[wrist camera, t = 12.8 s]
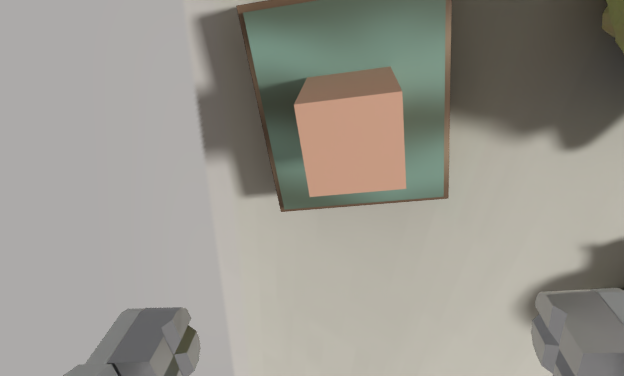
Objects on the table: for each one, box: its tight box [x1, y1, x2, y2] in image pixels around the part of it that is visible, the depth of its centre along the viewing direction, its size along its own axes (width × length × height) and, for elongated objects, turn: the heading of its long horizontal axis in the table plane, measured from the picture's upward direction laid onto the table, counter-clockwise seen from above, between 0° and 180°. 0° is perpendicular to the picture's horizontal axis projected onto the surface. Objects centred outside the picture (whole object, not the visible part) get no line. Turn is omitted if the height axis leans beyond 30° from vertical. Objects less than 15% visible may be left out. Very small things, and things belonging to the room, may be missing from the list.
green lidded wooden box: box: [237, 0, 452, 212], centre depth 26 cm, size 14×12×4 cm
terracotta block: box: [294, 66, 406, 197], centre depth 21 cm, size 5×5×6 cm
